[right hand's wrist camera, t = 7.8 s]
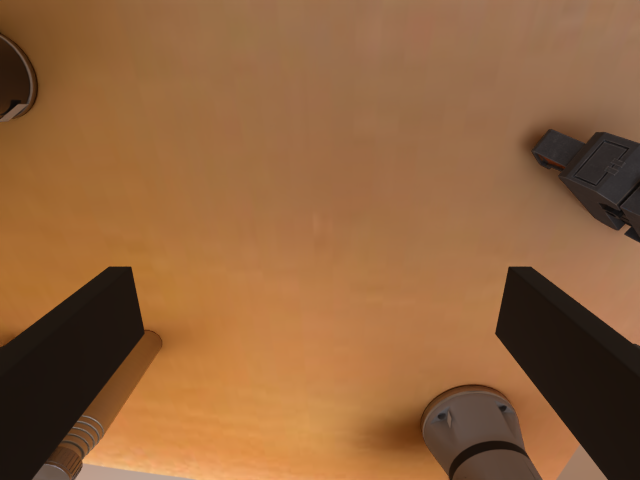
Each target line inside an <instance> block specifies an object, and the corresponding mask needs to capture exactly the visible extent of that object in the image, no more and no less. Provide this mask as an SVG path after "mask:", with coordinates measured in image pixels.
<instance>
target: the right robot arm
mask: <svg viewBox="0 0 640 480" xmlns="http://www.w3.org/2000/svg"><path fill="white" fill-rule="evenodd" d="M144 334H145V332H144V327H143V322H142V317H141V313H140V308H139V303H138V298H137V293H136V288H135V283H134V278H133V273H132V268H131V267H108V268H107V269H105V270H104V271H103V272H101V273H100V274H99V275H98V276H96V277H95V278H94V279H92V280H91V281H90V282H88V283H87V284H86V285H84V286H83V287H82V288H80V289H79V290H78V291H76V292H75V293H74V294H72V295H71V296H70V297H68V298H67V299H66V300H64V301H63V302H62V303H61V304H59V305H58V306H57V307H55V308H54V309H53V310H51V311H50V312H49V313H47V314H46V315H45V316H43V317H42V318H41V319H39V320H38V321H37V322H35V323H34V324H33V325H31V326H30V327H29V328H27V329H26V330H25V331H24V332H22V333H21V334H20V335H18V336H17V337H16V338H14V339H13V340H12V341H10V342H9V343H8V344H6V345H4V346H2V347H0V480H32V479H33V478H34V476H35V475H36V474H37V473H38V471H39V470H40V469H41V467H42V466H43V465H44V463H45V462H46V461H47V460H48V458H49V457H50V456H51V454H52V453H53V452H54V451H55V449H56V448H57V447H58V445H59V444H60V443H61V441H62V440H63V439H64V438H65V436H66V435H67V434H68V432H69V431H70V430H71V429H72V427H73V426H74V425H75V423H76V422H77V421H78V420H79V418H80V417H81V416H82V414H83V413H84V412H85V410H86V409H87V408H88V407H89V405H90V404H91V403H92V401H93V400H94V399H95V398H96V396H97V395H98V394H99V392H100V391H101V390H102V388H103V387H104V386H105V385H106V383H107V382H108V381H109V379H110V378H111V377H112V376H113V374H114V373H115V372H116V370H117V369H118V368H119V366H120V365H121V364H122V363H123V361H124V360H125V359H126V357H127V356H128V355H129V354H130V352H131V351H132V350H133V348H134V347H135V346H136V344H137V343H138V342H139V341H140V339H141V338H142V337H143V335H144ZM495 334H496V335H497V337H498V338H499V339H500V341H501V342H502V343H503V344H504V346H505V347H506V348H507V350H508V351H509V352H510V354H511V355H512V356H513V357H514V359H515V360H516V361H517V363H518V364H519V365H520V366H521V368H522V369H523V370H524V372H525V373H526V374H527V376H528V377H529V378H530V379H531V381H532V382H533V383H534V385H535V386H536V387H537V388H538V390H539V391H540V392H541V394H542V395H543V396H544V398H545V399H546V400H547V401H548V403H549V404H550V405H551V407H552V408H553V409H554V410H555V412H556V413H557V414H558V416H559V417H560V418H561V420H562V421H563V422H564V423H565V425H566V426H567V427H568V429H569V430H570V431H571V432H572V434H573V435H574V436H575V438H576V439H577V440H578V441H579V443H580V444H581V445H582V447H583V448H584V449H585V451H586V452H587V453H588V454H589V456H590V457H591V458H592V460H593V461H594V462H595V463H596V465H597V466H598V467H599V469H600V470H601V471H602V473H603V474H604V475H605V476H606V478H607V479H608V480H640V346H639V345H637V344H632V343H631V342H630V341H628V340H627V339H626V338H624V337H623V336H622V335H620V334H619V333H618V332H616V331H615V330H614V329H613V328H611V327H610V326H609V325H607V324H606V323H605V322H603V321H602V320H601V319H599V318H598V317H597V316H595V315H594V314H593V313H591V312H590V311H589V310H587V309H586V308H585V307H583V306H582V305H581V304H579V303H578V302H577V301H576V300H574V299H573V298H572V297H570V296H569V295H568V294H566V293H565V292H564V291H562V290H561V289H560V288H558V287H557V286H556V285H554V284H553V283H552V282H550V281H549V280H548V279H546V278H545V277H544V276H542V275H541V274H540V273H539V272H537V271H536V270H535V269H533V268H532V267H509V268H508V273H507V278H506V283H505V288H504V293H503V298H502V303H501V308H500V313H499V317H498V322H497V327H496V332H495ZM421 431H422V434H423V438H424V441H425V443H426V445H427V447H428V449H429V450H430V452H431V453H432V454H433V456H434V457H435V458H436V460H437V461H438V462H439V464H440V465H441V467H442V468H443V469H444V471H445V472H446V473H447V475H448V476H449V479H450V480H542V478H541V476H540V475H539V473H538V471H537V470H536V468H535V466H534V465H533V463H532V462H531V460H530V458H529V457H528V455H527V453H526V451H525V447H524V443H523V439H522V434H521V430H520V425H519V421H518V417H517V415H516V412H515V410H514V408H513V407H512V405H511V404H510V402H509V401H508V399H507V398H506V397H505V396H504V395H503V394H501V393H500V392H498V391H496V390H494V389H492V388H489V387H484V386H463V387H458V388H455V389H452V390H449V391H447V392H445V393H443V394H441V395H440V396H438V397H437V398H435V399H434V400H433V401H432V402H431V403H430V404H429V405H428V407H427V408H426V410H425V411H424V413H423V416H422V419H421Z"/></svg>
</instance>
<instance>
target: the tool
mask: <svg viewBox="0 0 640 480" xmlns="http://www.w3.org/2000/svg"><path fill="white" fill-rule="evenodd" d="M531 152H532V153H533V155H534V156H535V158H536V159H537V161H538V163H539V164H540V165H542V166H544V167H546V168H548V169H550V168H554V169H557V170H559V171H561V173H560V174H559V176H558V177H559V178H560V179H561V180H562V181H563V183H564V184H565V185H566V186H567V187H568V188H569V189H570V190H571V192H572V193H573V194H574V195H575V196H576V197H577V198H578V200H579V201H580V202H581V203H582V204H583V205H584V206H585V207H586V209H587V210H588V211H589V212H590V213H591V214H592V215H593V217H594V218H596V219H597V220H599V221H600V222H602V223H604V224H605V225H607V226H609V227H611V228H613V229H615V230H620V228H621V227H622V226H623V225H624V224H627V225H629V226H631V228H630V229H629V230H628V231H627V232H626V233H625V235H626V236H628V237H630V238H632V239H634V240H636V241H638V242H640V143H637V142H634V141H631V140H628V139H625V138H621V137H618V136H615V135H612V134H609V133H606V132H596V133H595V134H594V135H593V136H592V137H591V139H590V140H589V141H588V142H587V143H586V144H585V143H583V142H580V141H578V140H576V139H573V138H571V137H569V136H566V135H564V134H562V133H559V132H557V131H554V130H552V129H549V130H548V131H547V132H546V134H545V135H544V136H543V137H542V138H541V140H540V141H539V142H538V143H537V145H536V146H535V147H534V148H533V149H532V151H531Z"/></svg>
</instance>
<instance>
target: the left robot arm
mask: <svg viewBox="0 0 640 480" xmlns="http://www.w3.org/2000/svg"><path fill="white" fill-rule="evenodd" d="M36 93H37V83H36V77H35V73H34V70H33V68H32V66H31V63H30V62H29V60H28V58H27V57H26V55H25V54H24V53H23V51H22V50H21V49H20V48H19V47H18V46H17V45H16V44H15V43H14V42H13V41H11V40H10V39H8V38H7V37H5V36H4V35H2V34H0V122H2V121H9V120H10V119H13V118H17V117H20V116H22V115H24V114H25V113H26V112H28V110H29V109H30V108H31V107H32V105H33V103H34V101H35V98H36Z"/></svg>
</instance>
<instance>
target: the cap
mask: <svg viewBox="0 0 640 480" xmlns="http://www.w3.org/2000/svg"><path fill="white" fill-rule="evenodd" d="M82 464H83V463H82V459H81V457H80V456H79V455H78V454H77V453H76V452H75V451H73V450H71V449H69V448H67V447H63V446H58V447H57V448H56V449H55V451H54V452H53V453H52V454H51V456H50V457H49V458H48V460H47V461H46V462H45V463H44V465H43V466H42V467H41V469H40V470H39V471H38V473H37V474H36V475H35V476H34V478H33V479H32V480H75V478H76V477H77V475H78V474H79V472H80V471H81V468H82Z"/></svg>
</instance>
